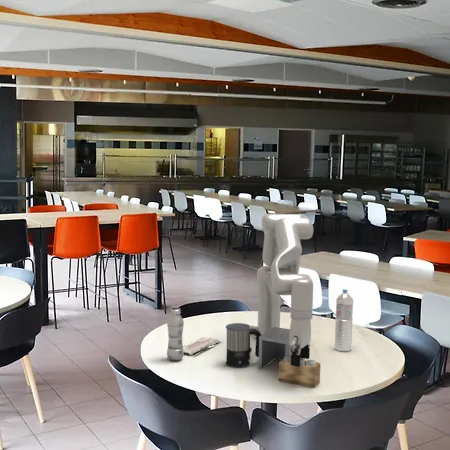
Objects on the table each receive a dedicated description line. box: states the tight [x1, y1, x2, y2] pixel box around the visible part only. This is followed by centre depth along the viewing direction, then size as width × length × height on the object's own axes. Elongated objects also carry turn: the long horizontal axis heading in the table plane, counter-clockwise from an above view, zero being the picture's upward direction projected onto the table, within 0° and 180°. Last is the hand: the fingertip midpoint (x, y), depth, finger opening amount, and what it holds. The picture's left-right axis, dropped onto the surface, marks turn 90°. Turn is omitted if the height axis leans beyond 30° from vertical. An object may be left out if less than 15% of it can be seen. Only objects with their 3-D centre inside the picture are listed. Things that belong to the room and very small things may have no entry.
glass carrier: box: [278, 356, 321, 389], centre depth 222 cm, size 13×6×8 cm, turn 63°
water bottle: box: [334, 289, 354, 352], centre depth 259 cm, size 7×7×25 cm
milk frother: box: [225, 322, 261, 369], centre depth 243 cm, size 14×16×15 cm
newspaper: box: [183, 337, 222, 356], centre depth 259 cm, size 23×12×2 cm, turn 148°
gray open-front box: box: [257, 327, 301, 370], centre depth 238 cm, size 12×15×12 cm
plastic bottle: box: [166, 307, 185, 361], centre depth 242 cm, size 6×7×20 cm
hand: (300, 362), depth 221 cm, fingers open, 9 cm apart
